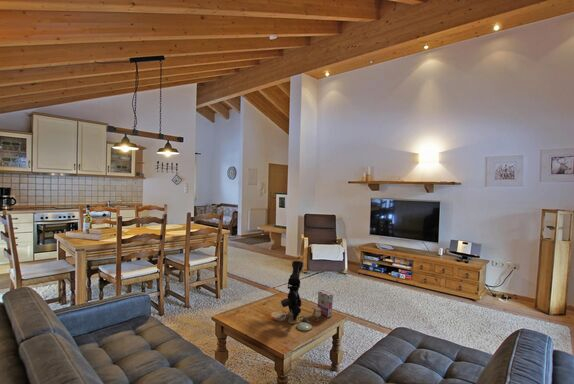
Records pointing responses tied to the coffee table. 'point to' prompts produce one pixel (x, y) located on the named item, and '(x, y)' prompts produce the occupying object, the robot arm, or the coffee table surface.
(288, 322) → the balance
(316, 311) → the oak block
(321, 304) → the candy bar box
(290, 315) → the walnut block
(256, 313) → the coffee table surface
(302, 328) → the sage dish
